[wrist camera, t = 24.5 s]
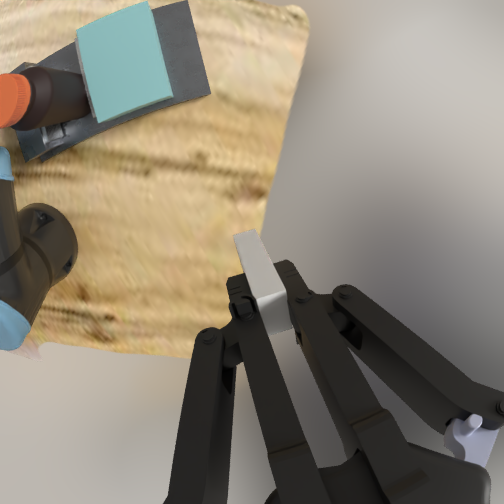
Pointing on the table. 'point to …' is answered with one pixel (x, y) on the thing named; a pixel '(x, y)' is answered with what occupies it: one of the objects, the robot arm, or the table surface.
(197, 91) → the vise base
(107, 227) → the table surface
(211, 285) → the table surface
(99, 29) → the block
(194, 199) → the table surface
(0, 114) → the vinegar
